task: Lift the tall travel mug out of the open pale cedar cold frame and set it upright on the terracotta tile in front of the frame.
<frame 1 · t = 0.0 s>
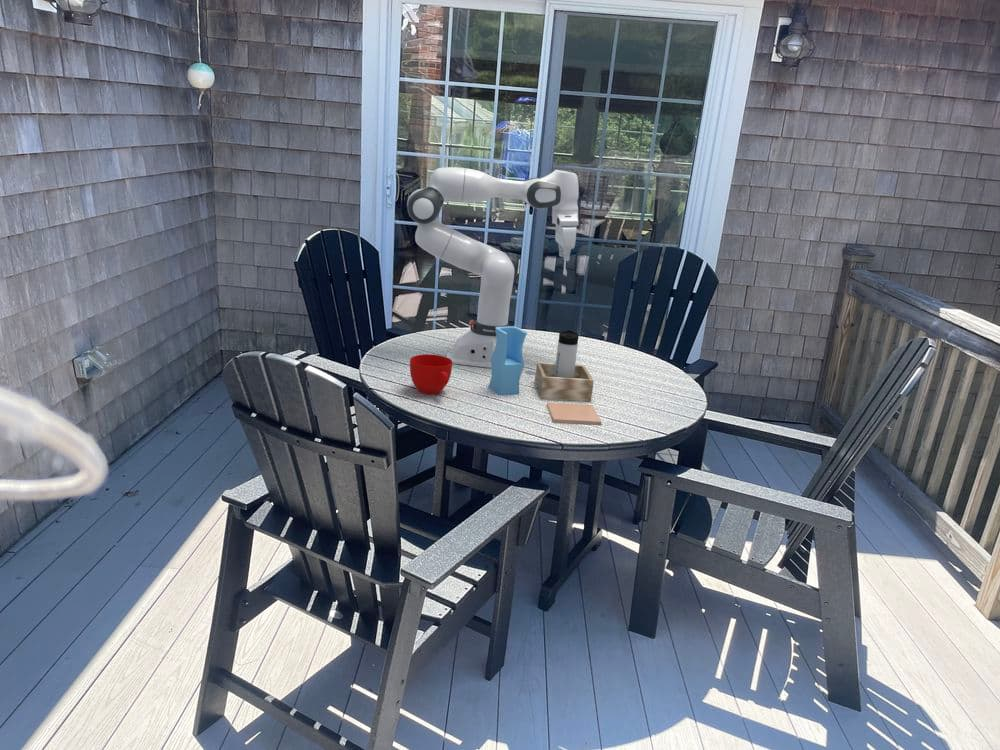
hand: (564, 258, 252), 39 cm above the table, tool pointing down, fingers open, 8 cm apart
travel mug: (561, 392, 236), resting in cold frame
ceramic cup: (432, 393, 223), on the table
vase: (504, 390, 232), on the table
cold frame: (561, 391, 235), on the table
terracotta tile: (573, 414, 216), on the table
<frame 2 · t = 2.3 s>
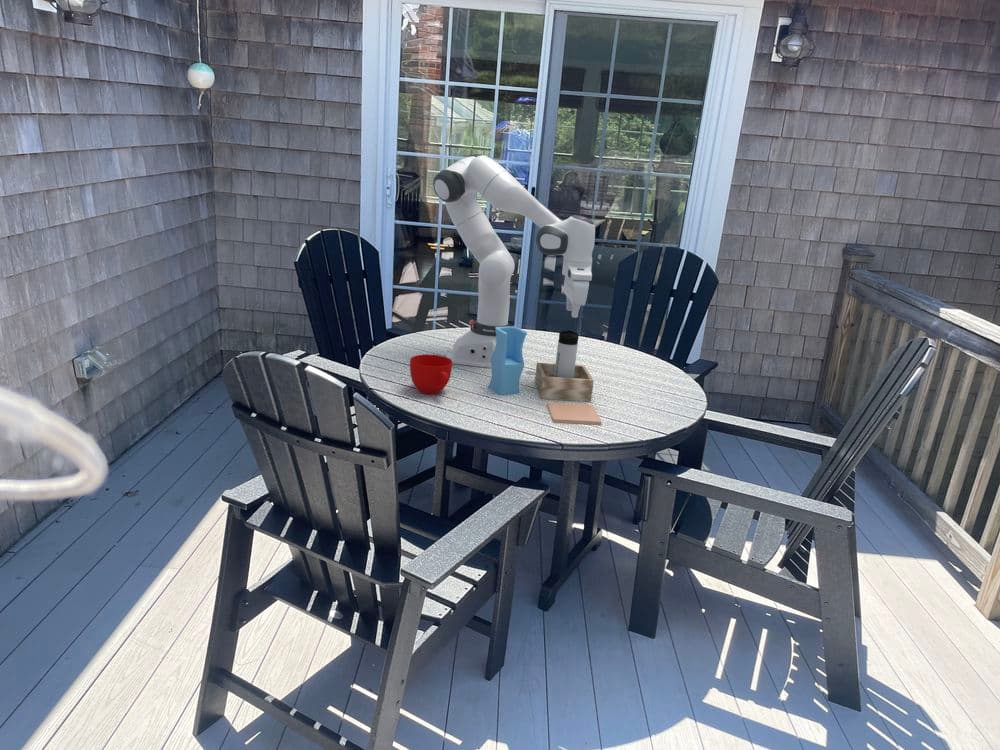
hand: (571, 313, 228), 26 cm above the table, tool pointing down, fingers open, 8 cm apart
nothing on the table moved.
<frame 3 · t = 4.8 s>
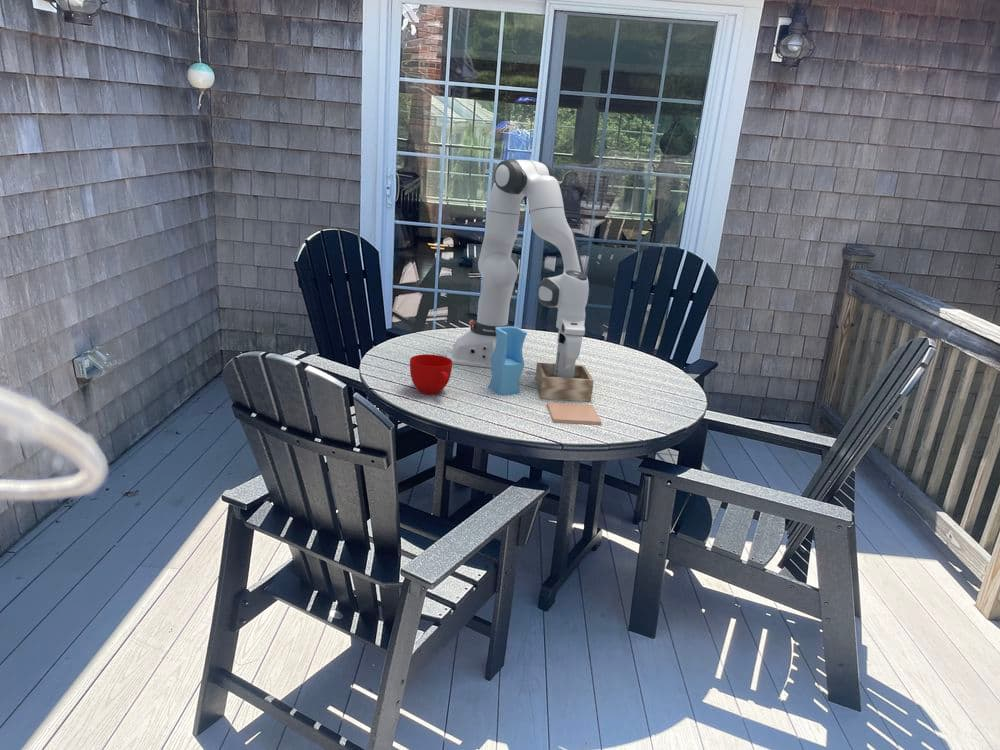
hand: (565, 364, 233), 9 cm above the table, tool pointing down, fingers closed on travel mug, 6 cm apart
travel mug: (561, 392, 236), resting in cold frame, touching gripper
everything else where it was.
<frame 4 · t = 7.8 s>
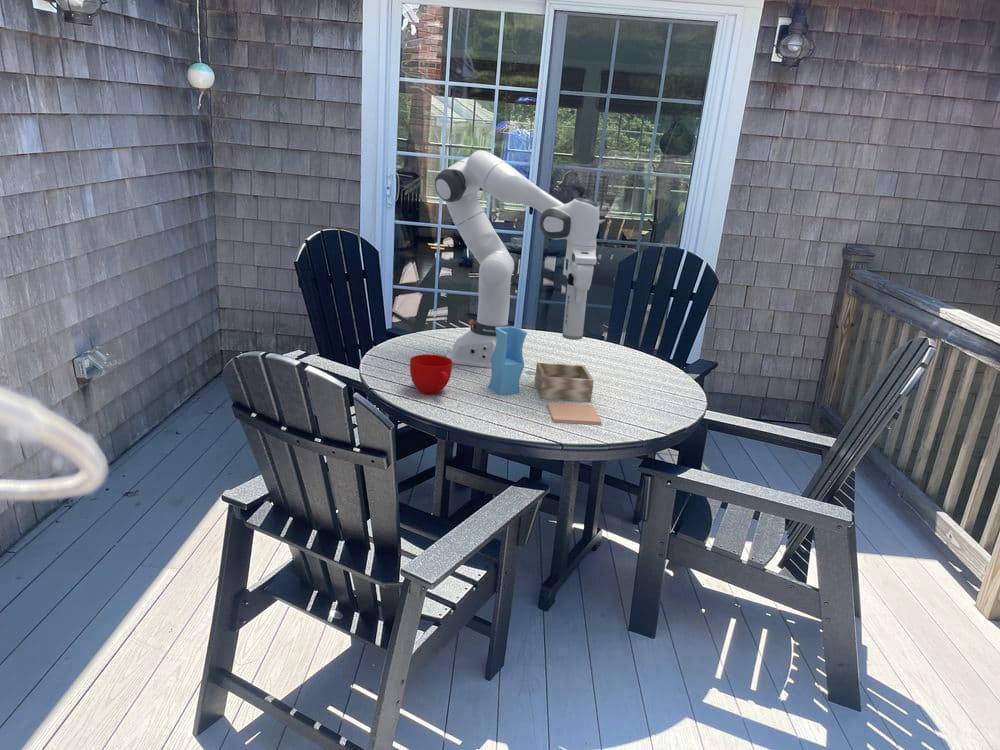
hand: (575, 299, 222), 32 cm above the table, tool pointing down, fingers closed on travel mug, 6 cm apart
travel mug: (572, 337, 226), point 19 cm above the table, touching gripper
everything else where it was.
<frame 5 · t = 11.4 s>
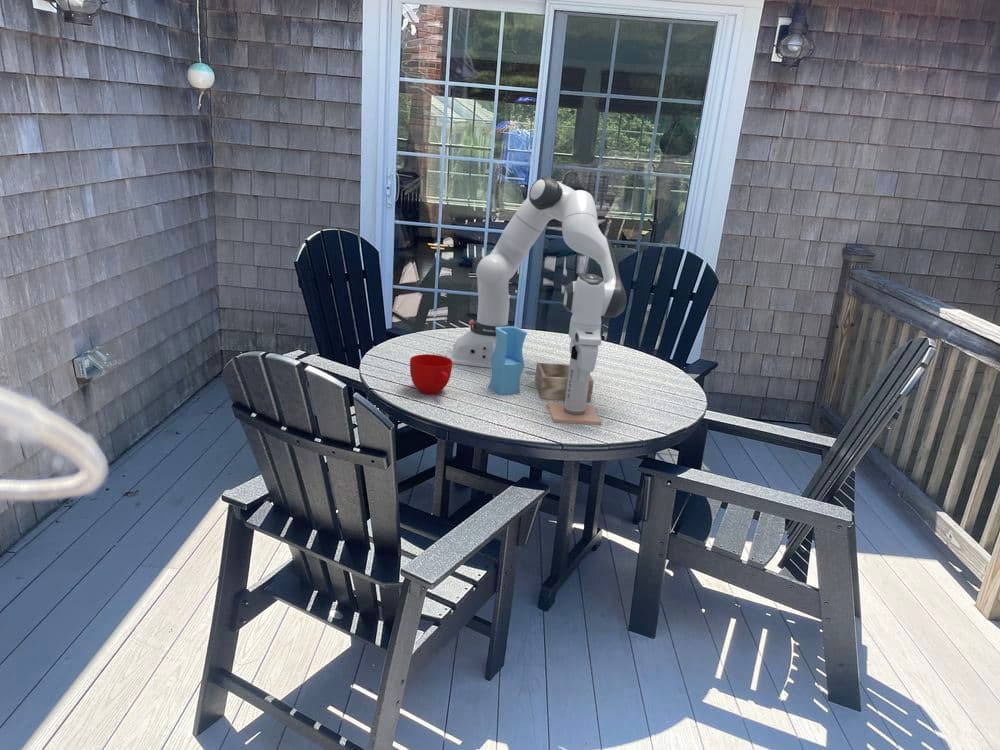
hand: (578, 377, 212), 12 cm above the table, tool pointing down, fingers closed on travel mug, 6 cm apart
travel mug: (574, 411, 216), point 1 cm above the table, touching gripper, terracotta tile
everything else where it was.
when the fingers open (12 cm above the table, at t = 11.7 s): travel mug stays where it is, resting on terracotta tile.
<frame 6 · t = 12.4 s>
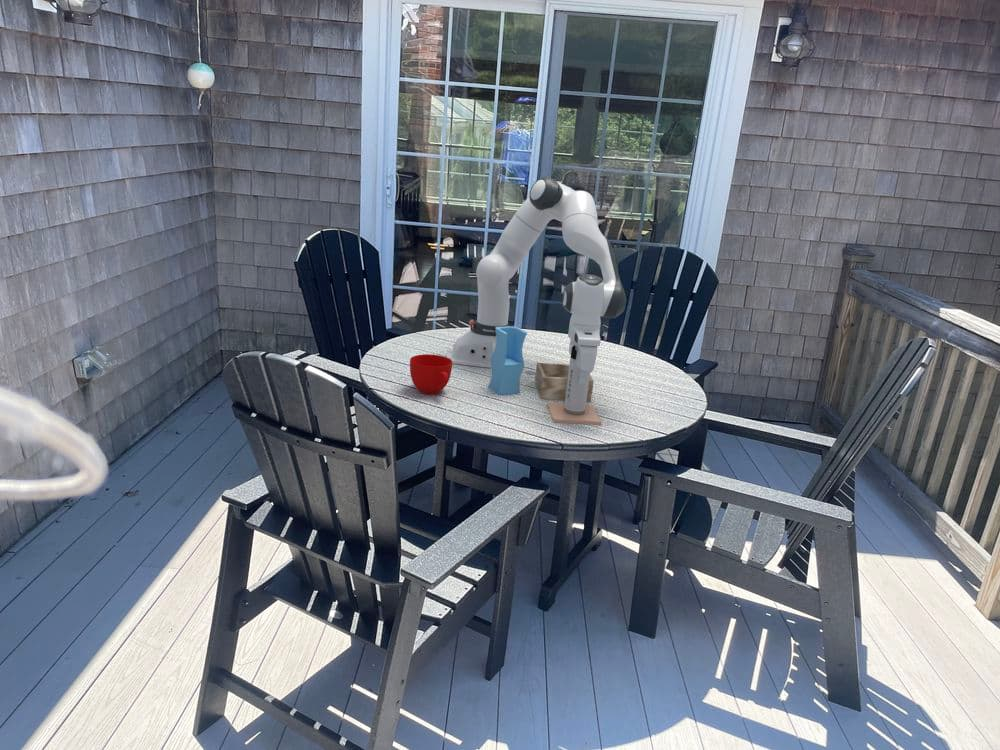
hand: (578, 377, 212), 12 cm above the table, tool pointing down, fingers open, 8 cm apart
travel mug: (574, 411, 216), point 1 cm above the table, touching terracotta tile
everything else where it was.
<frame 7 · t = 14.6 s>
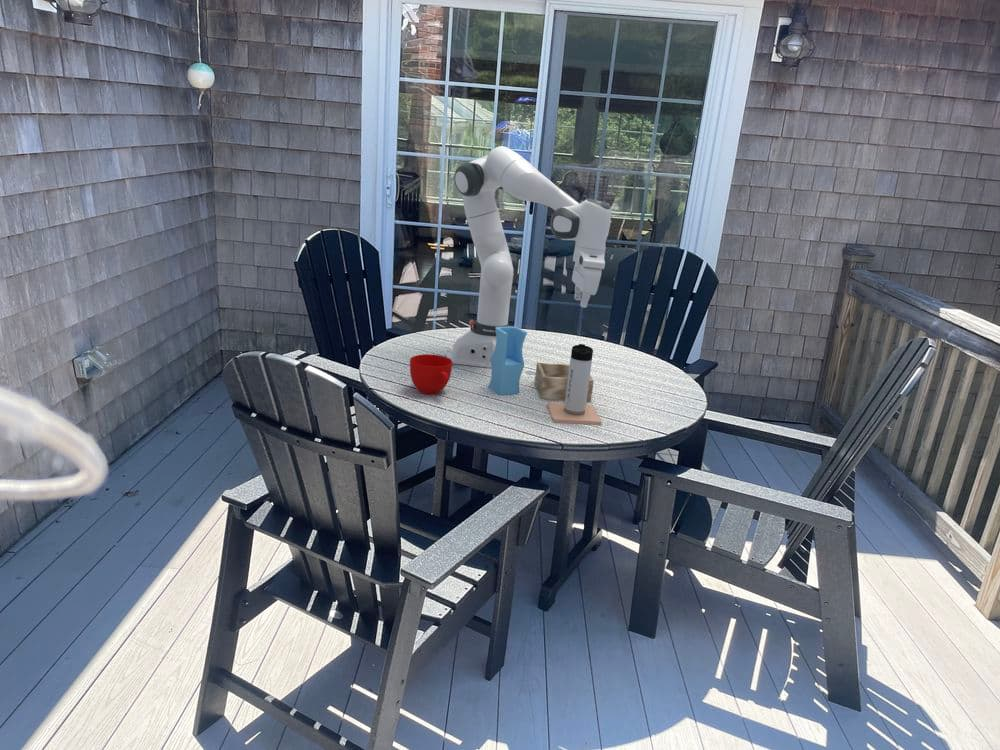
hand: (580, 303, 215), 32 cm above the table, tool pointing down, fingers open, 8 cm apart
nothing on the table moved.
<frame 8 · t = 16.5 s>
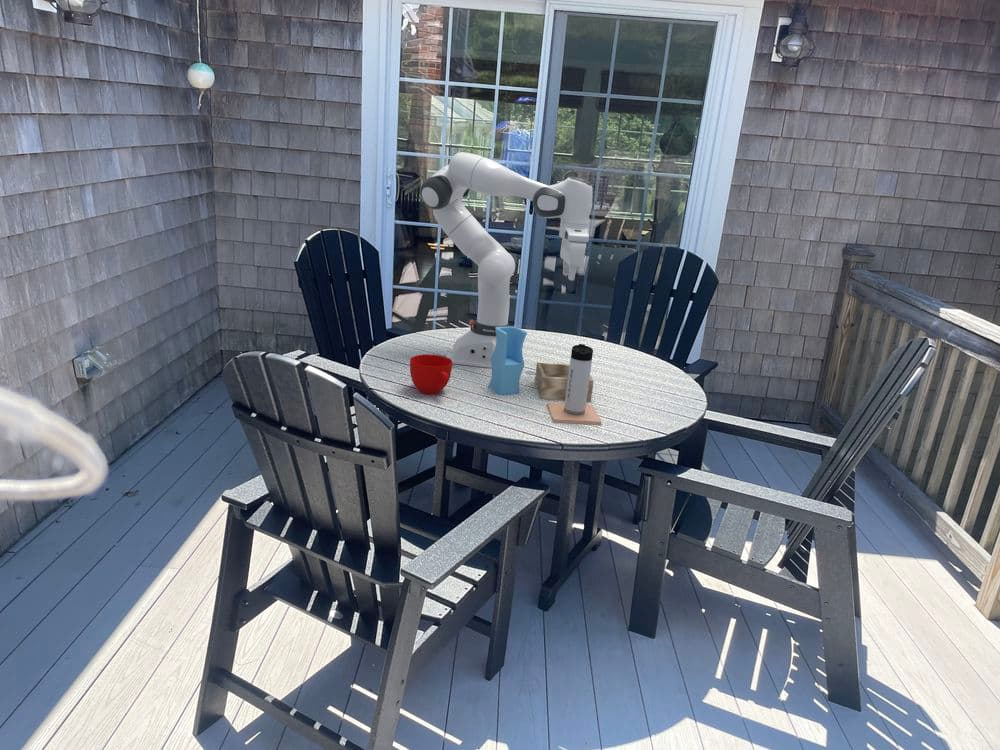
hand: (568, 277, 226), 37 cm above the table, tool pointing down, fingers open, 8 cm apart
nothing on the table moved.
at the end: travel mug inside the target area on the terracotta tile (0.5 cm from its centre), point 0.8 cm above the terracotta tile's base; travel mug tilted 0°; the gripper is holding nothing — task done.
